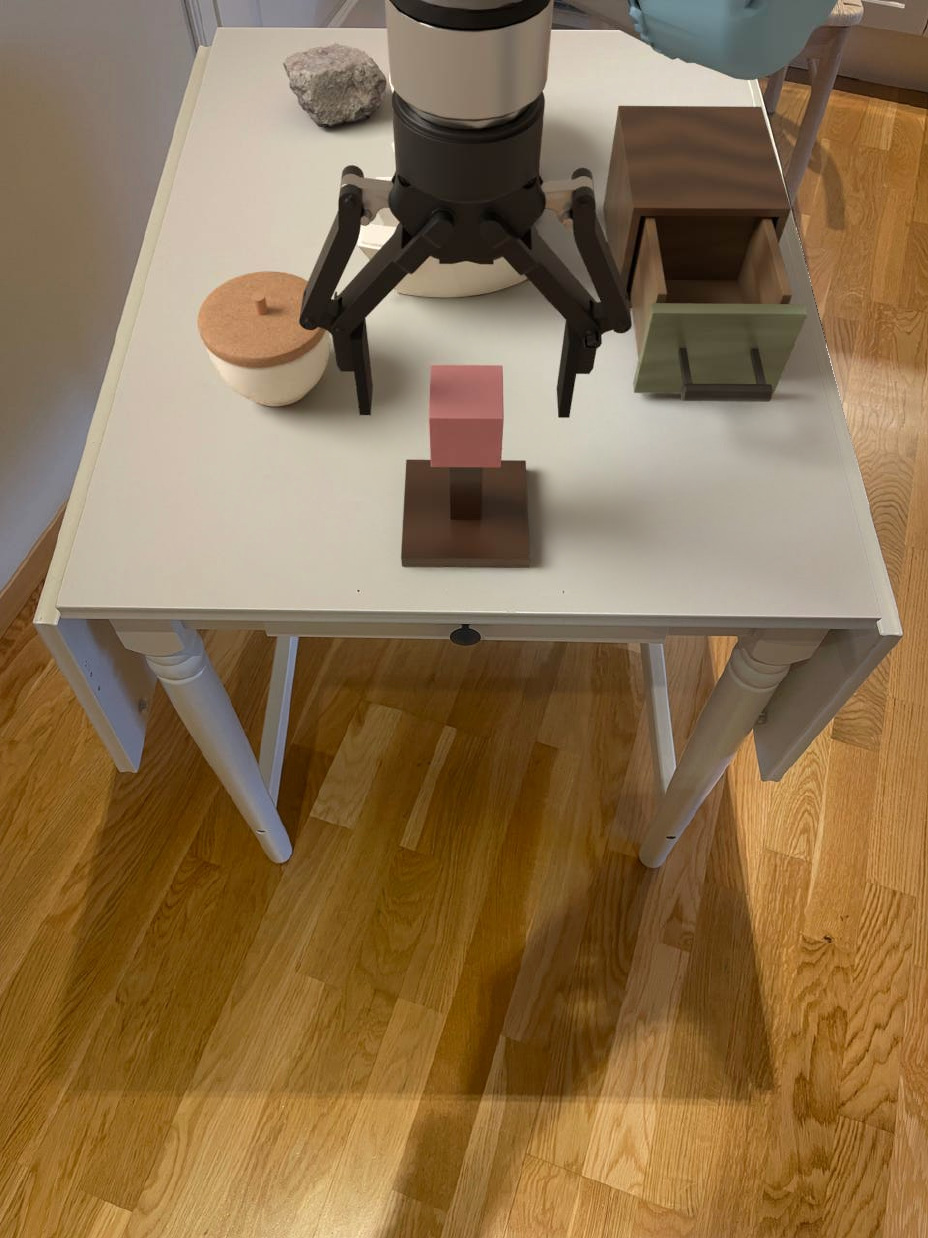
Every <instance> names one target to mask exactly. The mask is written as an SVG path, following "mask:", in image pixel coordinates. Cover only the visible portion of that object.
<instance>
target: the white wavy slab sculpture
mask: <svg viewBox="0 0 928 1238" xmlns="http://www.w3.org/2000/svg"><path fill="white" fill-rule="evenodd" d="M388 74H389V75H388V81H389V85H390V89H391V93H392V94H393V91H394V88H393V86H392V84H391V79H390V73H388ZM390 145H391V148H392V151H393V154H394V155H395V147H394V141H392V142H391V143H390ZM392 178H393V176H376V177H374V178H373V179H379V180H388V181H391V179H392ZM377 214H378V216H379V218H380V219H381V221H382V223H383V225H380V224H373V223H369V225H367V226H363V225H361V227H360V234H359V238H358V241H357V247H358V248H359V249H360V251H361V252H362V253H363V254H364V255H365V256H366V257H367V259H368V260H369V261H370V260H371V259H372V257H373V256H374V255H375V254H376V253H377V252H378V251H379V250H380V249H381V247H382V246H383V245H384V244H385V243H386V242H387V241H388V240H389V239H390V237H391V236H392V235H393V234H394V232H395V230H396V227H397V225H398V224H399V223H400V222H399V221H398V220H397V219H396V218H395V217H394V215H393V214H392V213H391V211H390V208H382V209H380V210H379V211H378V212H377ZM526 280H529V279H528V278H527V277H526V276H525V275H522V276H521V275H519V274H518V273H517V272H516V271H515V269H514V268H513V267H512V266H511V265H510V264H509V263H508V262H507V261H506V260H505V259H504V258H503V257H502V258H500V259H497V260H494V265H490V264H477V263H472V262H468V261H464V262H460V263H455V264H439V259H435V258H433V257H431V256H430V257H429V258H428V259H427V260H426V261H425V262H424V263H423V264H422V265H421V266H420V267H419V268H418V269H417V270H416V271H415V272H414V273H413V274H407V275H406V276H405V277H404V278H403V279H402V280H401V281H400V282H399V283H398V284H397V285H396V287H395V288H394V289H393V290H394V291H395V293H398V294H403V295H409V296H416V297H423V298H424V297H426V298H463V297H472V296H473V297H474V296H478V295H484V294H485V295H486V294H490V293H494V292H498V291H501V290H504V289H507V288H511V287H513V286H515V285H518V284H520V283H522V282H525V281H526Z"/></svg>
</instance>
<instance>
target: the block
mask: <svg viewBox="0 0 928 1238" xmlns="http://www.w3.org/2000/svg"><path fill="white" fill-rule="evenodd" d="M503 371H504V368H503V365H499V364H498V365H497V364H494V365H493V364H492V365H491V364H490V365H489V364H431V365H430V375H429V376H430V377H429V397H428V398H429V401H428V426H429V427H428V431H429V432H428V433H429V434H428V435H429V448H430V449H429V454H430V457H429V458H430V460H431V467H495V468H500V467H501V460H502V455H503V454H502V453H503V440H504V439H503V438H504V435H503V434H504V422H505V421H504V420H505V419H504V418H505V416H504V415H505V414H504V413H505V412H504V411H505V409H504V372H503Z"/></svg>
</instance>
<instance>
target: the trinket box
mask: <svg viewBox="0 0 928 1238" xmlns="http://www.w3.org/2000/svg"><path fill="white" fill-rule="evenodd" d="M307 283H308V280H306V279H305V278H303V277H301V276H298V275H295V274H292V273H288V272H282V271H270V270H267V271H266V270H265V271H255V272H249V273H245V274H241V275H239V276H236V277H233V278H231V279H229V280H227V281H225V282H224V283H222V284H220V285H218V286H217V287H216V288H215V289H213V290H212V291H211V292H210V293H209V294H208V295H207V296H206V298H205V299H204V301H203V302H202V303H201V306H200V307H199V310H198V314H197V329H198V333H199V335H200V338H201V340H202V342H203V344H204V346H205V349H206V351H207V354H208V357H209V359H210V361H211V364H212V365H213V367H214V369H215V370H216V372H217V374H218V375H219V377H220V378H221V380H222V381H223V382H224V383H225V384H226V385H227V386H228V387H229V388H230V389H231V390H232V391H233V392H235V393H236V394H238V395H240V396H241V397H242V398H244V399H247V400H249V401H252V402H255V403H257V404H259V405H262V406H267V407H284V406H289V405H291V404H294V403H296V402H299V401H300V400H301V399H303V398H304V397H305V396H306V395H307V394H308V393H309V392H310V391H312V389H313V388H315V386H316V385H317V384H318V383H319V382H320V380H321V378H322V376H323V375H324V373H325V369H326V368H327V364H328V362H329V356H330V348H331V340H330V339H331V338H330V335H331V334H330V332H329V331H327V330H325V329H323V328H319V327H317V329H315V330H306V329H304V328H302V326H301V325H300V323H299V319H300V311H301V305H302V299H303V292H304V290H305V288H306V285H307Z"/></svg>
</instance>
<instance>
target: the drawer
mask: <svg viewBox="0 0 928 1238" xmlns="http://www.w3.org/2000/svg"><path fill="white" fill-rule="evenodd" d="M788 277H789V276H788V274H787V270H786V266H785V263H784V259H783V256H782V252H781V247H780V243H779V244H778V240H777V237H776V233H775V229H774V226H773V222H772V218H771V217H735V216H641V219H640V224H639V229H638V234H637V239H636V245H635V250H634V255H633V260H632V265H631V270H630V275H629V280H628V283H629V290H630V298H631V306H632V308H631V312H632V313H631V314H632V320H633V328H634V334H635V343H636V350H637V359H638V360H637V364H636V369H635V373H634V377H633V382H632V387H633V393H635V394H680V399H681V401H682V402H712V403H713V402H721V403H723V402H724V403H725V402H727V403H729V402H730V403H731V402H732V403H769V402H770V401H771V400H772V397H773V395H774V394H775V392H776V390H777V388H778V385H779V383H780V381H781V379H782V375H783V374H784V371H785V370H786V369H785V368H786V367H787V365H788V362H789V359H790V357H791V354H792V352H793V350H794V347H795V345H796V342H797V340H798V338H799V336H800V333H801V331H802V329H803V326H804V325H805V324H804V323H805V321H806V319H807V316H808V310H807V308H806V307H807V306H806V304H804V303H790V302H791V299H792V297H793V292H792V288H791V285H790V281H789V278H788Z"/></svg>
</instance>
